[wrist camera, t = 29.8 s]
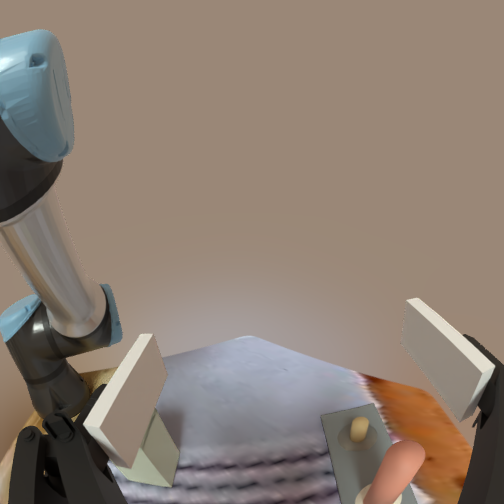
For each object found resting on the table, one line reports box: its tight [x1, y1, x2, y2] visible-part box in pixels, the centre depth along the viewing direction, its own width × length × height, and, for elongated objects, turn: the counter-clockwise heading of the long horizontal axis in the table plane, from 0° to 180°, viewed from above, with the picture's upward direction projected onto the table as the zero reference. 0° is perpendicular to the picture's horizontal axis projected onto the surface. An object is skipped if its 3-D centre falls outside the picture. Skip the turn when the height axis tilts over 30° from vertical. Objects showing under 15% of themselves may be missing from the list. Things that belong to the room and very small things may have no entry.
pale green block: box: [109, 408, 180, 488], centre depth 28 cm, size 7×7×11 cm
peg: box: [363, 440, 425, 504], centre depth 17 cm, size 4×4×12 cm
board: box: [321, 403, 418, 504], centre depth 24 cm, size 24×9×4 cm, turn 0°
